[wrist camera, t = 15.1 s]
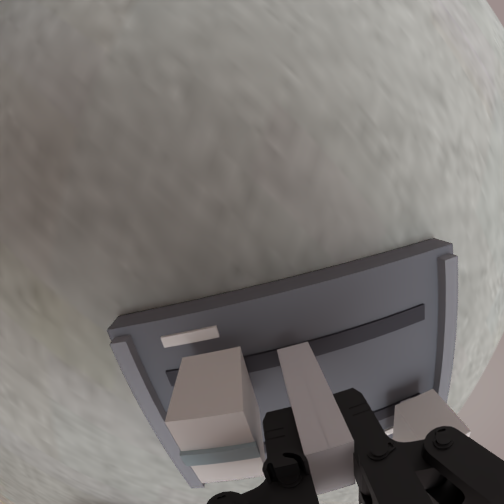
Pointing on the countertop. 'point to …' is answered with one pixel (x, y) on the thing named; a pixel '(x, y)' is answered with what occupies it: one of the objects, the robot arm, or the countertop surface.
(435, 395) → the fader low
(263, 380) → the console
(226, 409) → the fader high
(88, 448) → the countertop surface
